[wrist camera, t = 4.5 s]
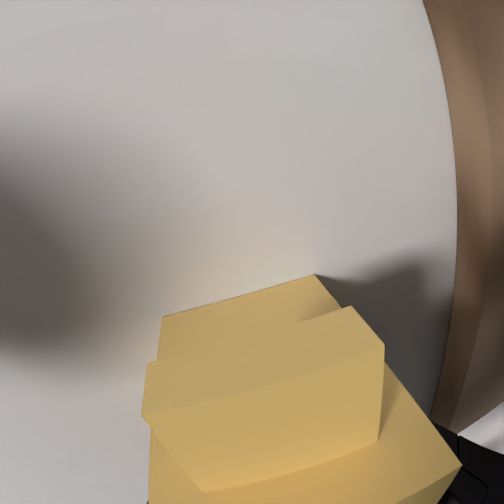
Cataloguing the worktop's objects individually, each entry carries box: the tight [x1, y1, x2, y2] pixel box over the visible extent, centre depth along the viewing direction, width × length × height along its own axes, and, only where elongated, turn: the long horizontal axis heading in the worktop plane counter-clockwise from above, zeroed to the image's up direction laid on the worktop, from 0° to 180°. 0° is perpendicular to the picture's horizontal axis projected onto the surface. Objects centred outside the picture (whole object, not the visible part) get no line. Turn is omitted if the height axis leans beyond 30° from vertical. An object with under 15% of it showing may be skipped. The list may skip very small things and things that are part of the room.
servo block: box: [141, 275, 462, 504], centre depth 6 cm, size 10×4×6 cm, turn 13°
